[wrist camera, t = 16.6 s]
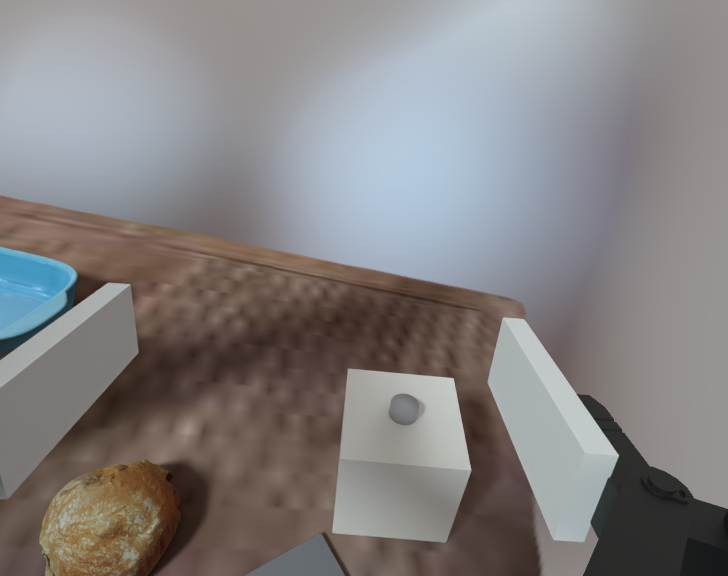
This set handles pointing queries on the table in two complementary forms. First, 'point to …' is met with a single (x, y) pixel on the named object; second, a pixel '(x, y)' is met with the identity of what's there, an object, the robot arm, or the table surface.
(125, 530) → the bread roll
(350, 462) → the box cover
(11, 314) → the casserole dish
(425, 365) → the table surface
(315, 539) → the rubber mat
